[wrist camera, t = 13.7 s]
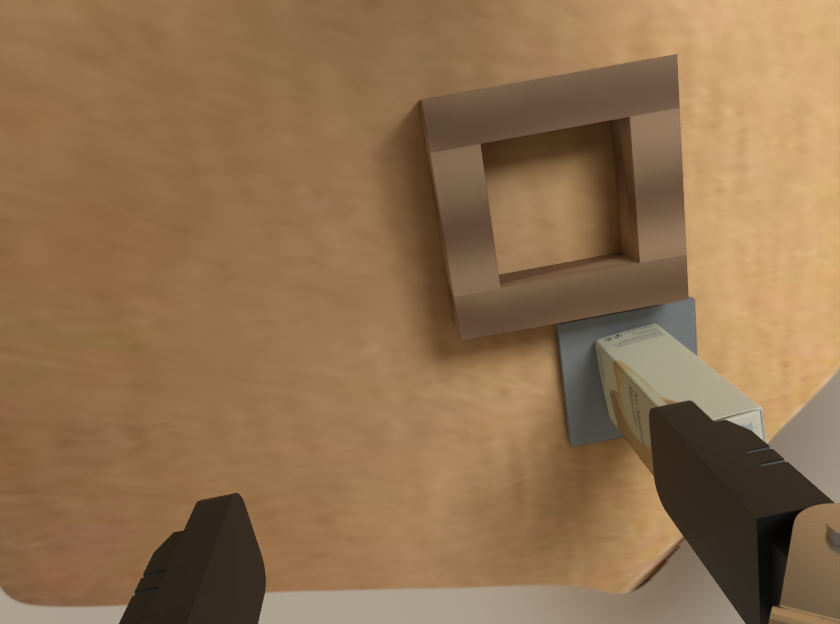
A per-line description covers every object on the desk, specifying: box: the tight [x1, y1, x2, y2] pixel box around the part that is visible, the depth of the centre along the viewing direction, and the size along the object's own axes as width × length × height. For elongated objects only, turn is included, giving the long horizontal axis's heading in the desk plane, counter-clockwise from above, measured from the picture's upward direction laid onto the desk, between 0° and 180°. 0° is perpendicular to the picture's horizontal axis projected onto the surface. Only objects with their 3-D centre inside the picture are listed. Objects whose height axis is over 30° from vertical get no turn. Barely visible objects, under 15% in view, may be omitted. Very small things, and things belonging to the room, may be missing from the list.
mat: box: [556, 297, 697, 447], centre depth 44 cm, size 9×9×1 cm
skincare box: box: [595, 324, 766, 476], centre depth 37 cm, size 6×4×12 cm
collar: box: [418, 54, 688, 341], centre depth 39 cm, size 14×14×3 cm
